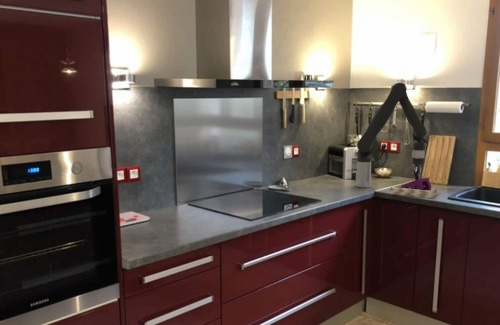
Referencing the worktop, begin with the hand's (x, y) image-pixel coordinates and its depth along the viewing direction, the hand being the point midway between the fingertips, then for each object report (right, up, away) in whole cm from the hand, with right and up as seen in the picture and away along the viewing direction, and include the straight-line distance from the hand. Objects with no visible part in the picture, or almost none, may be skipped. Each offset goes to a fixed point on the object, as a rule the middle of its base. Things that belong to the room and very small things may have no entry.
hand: (417, 182), depth 297 cm
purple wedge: (-5, -6, -7) cm, 10 cm away
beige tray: (-8, -6, -15) cm, 18 cm away
